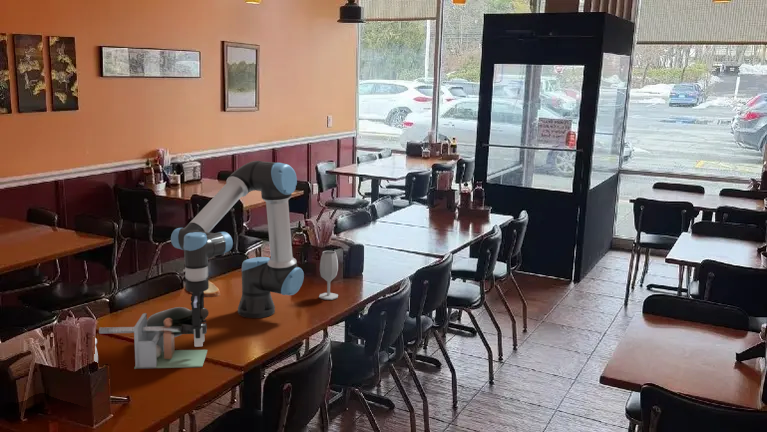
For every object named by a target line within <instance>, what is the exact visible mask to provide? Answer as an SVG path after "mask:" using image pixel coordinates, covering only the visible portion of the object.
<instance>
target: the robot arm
mask: <svg viewBox="0 0 767 432" xmlns="http://www.w3.org/2000/svg"><path fill="white" fill-rule="evenodd" d="M297 184H298V177H297V173H296V171H295V169H294V168H293V167H292V166H291V165H290V164H288V163H283V162H274V161H264V160H254V161H250V162H247V163H245V164H243V165H242V166H240V167H239V168H237V169H236V170H235V171H233V172H232V173H231V174H230V175H229V176H228V177H227V179H226V183H225V184H224V185H223V187H221V188H220V190H219V191H218V192H217V193H216V194H215V195H214V196H213V197H212V199H211V200H209V201H208V203H207V204H206V205H205V206H204V207H203V208H202V209H201V210H200V211H199V212H198V213H197V214H196V216H195V217H193V219H191V221H190V222H189V223H188V224H186V225H185V227H178V228H175V229H174V230H173V231H172V233H171V236H170V242H171V245H172V247H174V248H175V249H179V250H182V251H183V255H184V256H183V257H184V268H183V269H182V271H183V273H184V274H185V290H186V291H187V292H188V293H190V292H192V293H193V294H192V293H191V296H190V301H191V302H190V306H191V310H192V322H193V327H191V329H194V334H193V340H194V341H193V342H194V343H193V344H194V347H195V348H197V347H203V346H204V345H203V344H204V342H205V334H202V326H201V324H203V323H206V324H207V319H204V320H200V309H202V307H203V308H205V300H204V299H205V297H204V291H206V290H207V289H208V288H209V283H208V281H209V278H208V277H209V263H208V259H210V258H213V257H216V256H217V257H218V256H220V255H224V254H226V253H228V252H230V251H231V250H232V248H233V245H234V242H233V238H232V236H231V235H230V233H228V232H226V231H218V232H215V233H214V232H212V230H213V229H214V228H215V226H216V225H217V224H218V223H219V222H220V221H221V220H222V219H223V218H224V217H225V215H227V213H229V211H230V210H231V209H232V208H233V206H235V204H236V203H237V202H238V201H239V200H240V199H241V198H242V197H246V196H247V195H248V194H249V193H250V192H253V191H258V192H260V193H261V199H262V200H263V201H264V202H265V206H266V207H265V208H266V215H267V229H268V230H267V231H268V239H269V252H270V257H269V256H268V257H267V256H257V257H251V258H247V259H245V260H243V262H242V264H241V297H240V300H239V304H238V307H237V313H238V315H239V316H241V317H242V318H249V319H261V318H262V319H263V318H267V317H269V316H273V315H274V314H275V312H276V311H275V309H276V307H275V303H274V300H273V298H272V294H271V293H274V294H275V293H276V294H278V295H279V294H280V295H282V296H294V295H295V294H297V293H298V292H299V291H300V289H301V287H302V285H303V283H304V277H305V276H304V275H305V273H304V271H303V269H302V268H301V267H299V266H298V264H297V263H298V262H297V259H296V258H294V256H293V247H292V235H291V234H292V233H291V220H290V206H289V200H290V199H291V198H292V196H293V195H292V194H293V193H294V192H295V191H296V188H297V187H296V186H297Z"/></svg>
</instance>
